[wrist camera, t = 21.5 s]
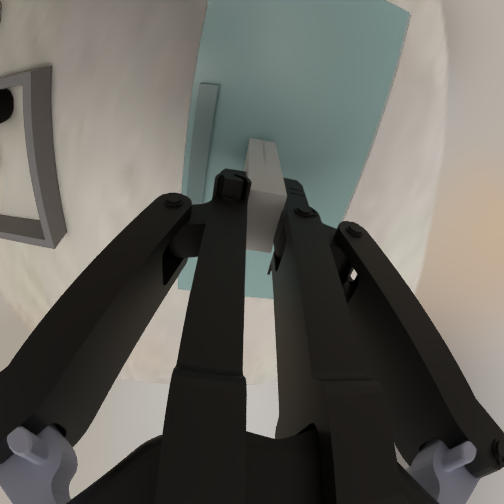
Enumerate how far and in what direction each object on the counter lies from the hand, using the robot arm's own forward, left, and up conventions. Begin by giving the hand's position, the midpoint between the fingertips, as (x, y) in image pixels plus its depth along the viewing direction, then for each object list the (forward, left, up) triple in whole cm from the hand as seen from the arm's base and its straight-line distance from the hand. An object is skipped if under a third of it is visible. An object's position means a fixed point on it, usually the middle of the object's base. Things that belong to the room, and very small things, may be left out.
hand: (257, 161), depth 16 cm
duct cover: (0, +1, -1) cm, 2 cm away
